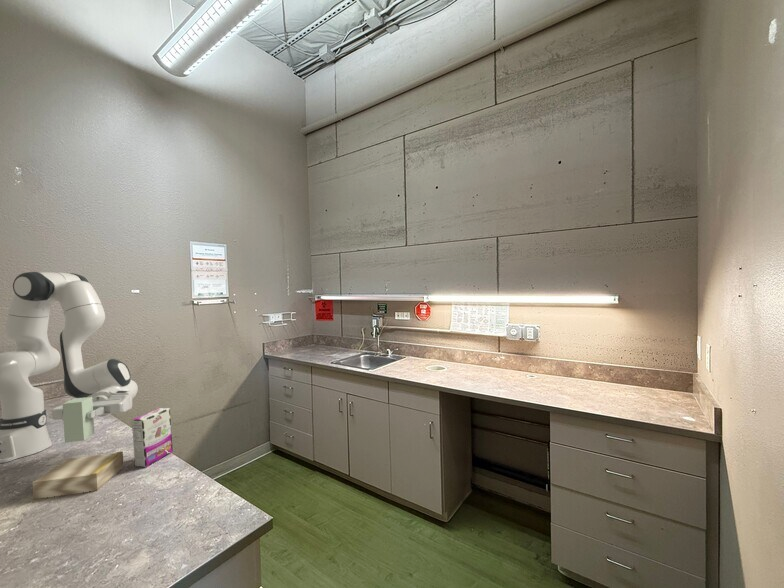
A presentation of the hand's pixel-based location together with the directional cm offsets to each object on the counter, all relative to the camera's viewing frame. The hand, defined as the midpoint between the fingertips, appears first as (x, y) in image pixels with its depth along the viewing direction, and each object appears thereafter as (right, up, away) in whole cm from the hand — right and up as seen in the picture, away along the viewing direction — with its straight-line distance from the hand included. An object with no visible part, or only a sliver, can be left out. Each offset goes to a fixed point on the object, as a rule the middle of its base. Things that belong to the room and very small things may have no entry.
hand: (76, 416), depth 106 cm
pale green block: (0, -7, +1) cm, 7 cm away
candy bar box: (+14, -20, +14) cm, 29 cm away
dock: (+1, -21, +1) cm, 21 cm away
